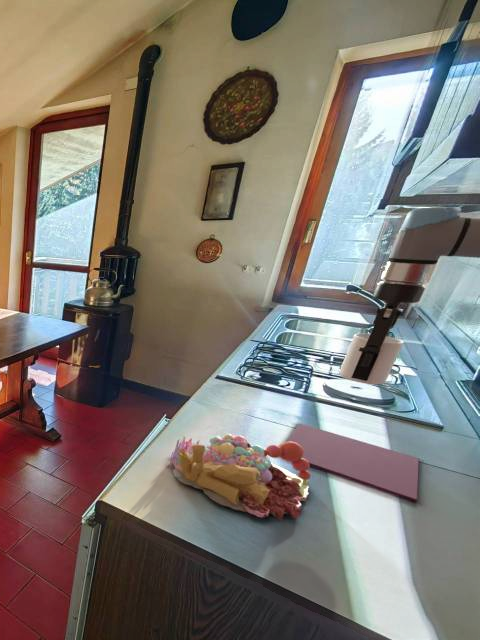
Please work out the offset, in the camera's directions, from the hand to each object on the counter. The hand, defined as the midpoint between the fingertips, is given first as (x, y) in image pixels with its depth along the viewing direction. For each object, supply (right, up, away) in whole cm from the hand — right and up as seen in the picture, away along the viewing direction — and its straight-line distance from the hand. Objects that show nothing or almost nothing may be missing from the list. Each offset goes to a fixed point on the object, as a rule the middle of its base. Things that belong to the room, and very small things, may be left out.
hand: (362, 373), depth 95 cm
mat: (-9, -20, -5) cm, 22 cm away
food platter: (-41, -23, -14) cm, 49 cm away
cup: (0, -1, 0) cm, 1 cm away
